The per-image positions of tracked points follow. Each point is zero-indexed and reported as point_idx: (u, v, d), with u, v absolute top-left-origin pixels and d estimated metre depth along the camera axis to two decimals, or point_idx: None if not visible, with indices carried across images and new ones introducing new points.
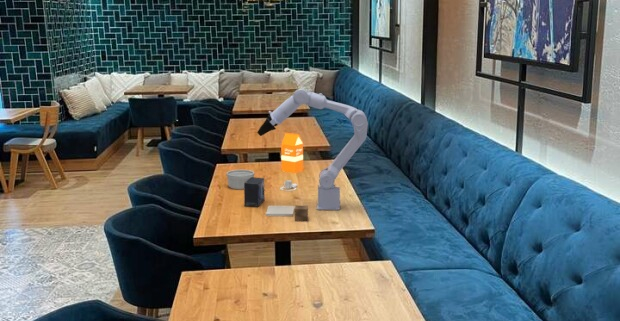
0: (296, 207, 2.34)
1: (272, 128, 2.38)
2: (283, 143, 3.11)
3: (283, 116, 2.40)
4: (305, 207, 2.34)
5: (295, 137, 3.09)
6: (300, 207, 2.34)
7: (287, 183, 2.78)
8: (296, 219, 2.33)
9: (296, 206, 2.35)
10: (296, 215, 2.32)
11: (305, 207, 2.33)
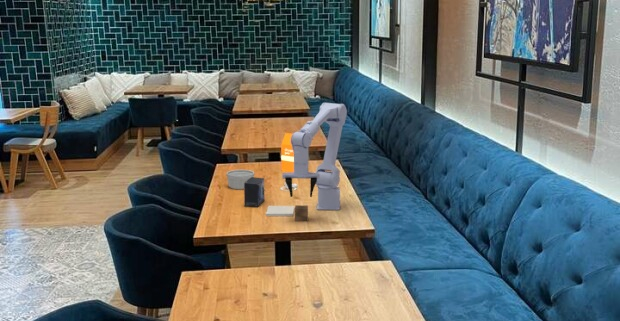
0: (296, 207, 2.34)
1: None
2: (283, 143, 3.11)
3: None
4: (305, 207, 2.34)
5: None
6: (300, 207, 2.34)
7: None
8: (296, 219, 2.33)
9: (296, 206, 2.35)
10: (296, 215, 2.32)
11: (305, 207, 2.33)
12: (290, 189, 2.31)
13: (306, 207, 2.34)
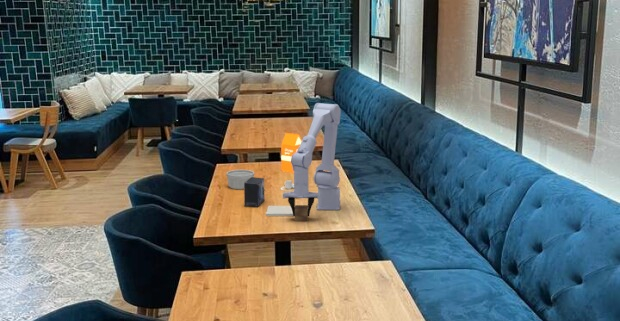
0: (296, 207, 2.34)
1: None
2: (283, 143, 3.11)
3: None
4: (305, 207, 2.34)
5: (295, 137, 3.09)
6: (300, 207, 2.34)
7: (287, 183, 2.78)
8: (296, 219, 2.33)
9: (296, 206, 2.35)
10: (296, 215, 2.32)
11: (305, 207, 2.33)
12: (293, 209, 2.33)
13: (306, 207, 2.34)
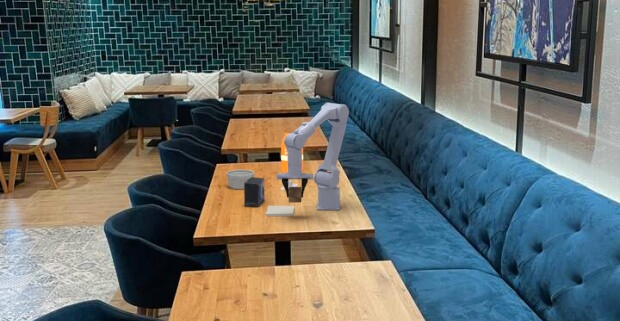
0: (290, 188, 2.35)
1: None
2: (283, 143, 3.11)
3: None
4: (299, 188, 2.35)
5: None
6: (294, 188, 2.35)
7: (288, 183, 2.78)
8: (290, 200, 2.34)
9: (290, 187, 2.36)
10: (290, 196, 2.33)
11: (299, 189, 2.34)
12: (286, 190, 2.34)
13: (300, 188, 2.35)
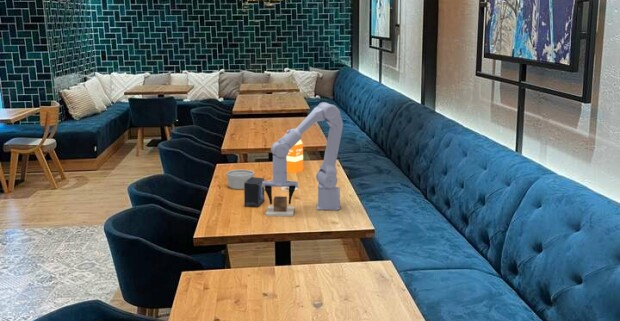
0: (275, 198, 2.43)
1: None
2: None
3: None
4: (284, 198, 2.43)
5: None
6: (279, 198, 2.43)
7: None
8: (275, 209, 2.41)
9: (275, 197, 2.44)
10: (275, 205, 2.41)
11: (284, 198, 2.42)
12: (269, 197, 2.41)
13: (285, 198, 2.43)
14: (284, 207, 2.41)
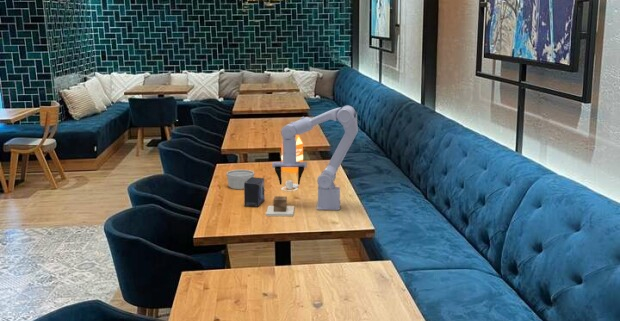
0: (275, 198, 2.43)
1: None
2: None
3: None
4: (284, 198, 2.43)
5: None
6: (279, 198, 2.43)
7: (288, 183, 2.78)
8: (275, 209, 2.41)
9: (275, 197, 2.44)
10: (275, 205, 2.41)
11: (284, 198, 2.42)
12: (279, 177, 2.50)
13: (285, 198, 2.43)
14: (284, 207, 2.41)
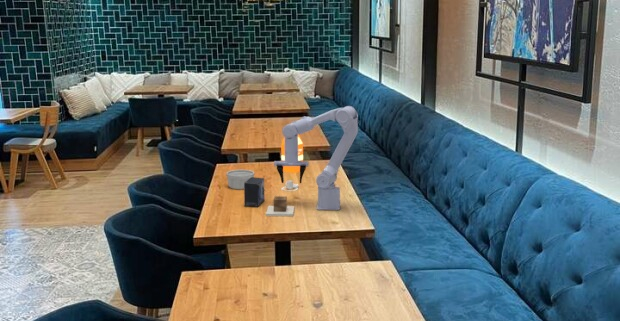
0: (275, 198, 2.43)
1: None
2: (283, 143, 3.11)
3: None
4: (284, 198, 2.43)
5: None
6: (279, 198, 2.43)
7: (288, 183, 2.78)
8: (275, 209, 2.41)
9: (275, 197, 2.44)
10: (275, 205, 2.41)
11: (284, 198, 2.42)
12: (281, 176, 2.52)
13: (285, 198, 2.43)
14: (284, 207, 2.41)
